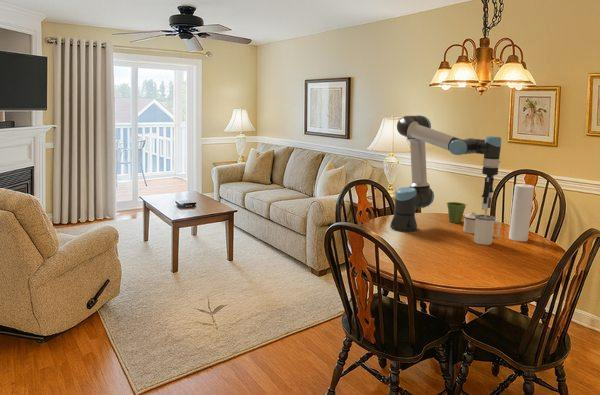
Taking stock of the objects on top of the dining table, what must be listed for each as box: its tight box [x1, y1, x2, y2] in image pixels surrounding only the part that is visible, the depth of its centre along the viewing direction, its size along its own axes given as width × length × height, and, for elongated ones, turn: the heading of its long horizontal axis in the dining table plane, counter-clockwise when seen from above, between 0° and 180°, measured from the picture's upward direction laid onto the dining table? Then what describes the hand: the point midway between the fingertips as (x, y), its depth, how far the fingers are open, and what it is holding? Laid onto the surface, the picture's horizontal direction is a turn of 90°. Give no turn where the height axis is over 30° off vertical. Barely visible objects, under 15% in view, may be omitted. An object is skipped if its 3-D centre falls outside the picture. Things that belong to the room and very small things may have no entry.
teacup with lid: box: [462, 211, 478, 235], centre depth 266 cm, size 12×9×12 cm
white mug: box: [473, 214, 501, 246], centre depth 244 cm, size 12×9×14 cm
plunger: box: [484, 197, 492, 218], centre depth 244 cm, size 6×6×20 cm
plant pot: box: [446, 201, 468, 224], centre depth 287 cm, size 12×12×11 cm
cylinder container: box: [508, 183, 535, 242], centre depth 251 cm, size 9×9×30 cm
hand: (486, 207), depth 243 cm, fingers open, 13 cm apart
